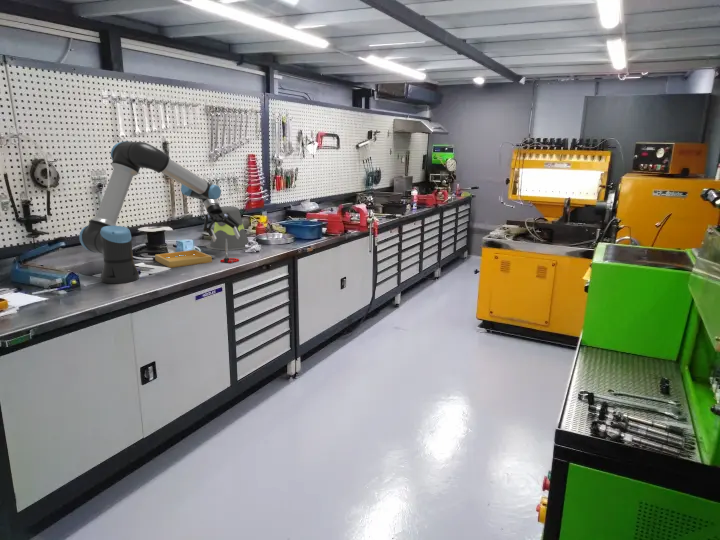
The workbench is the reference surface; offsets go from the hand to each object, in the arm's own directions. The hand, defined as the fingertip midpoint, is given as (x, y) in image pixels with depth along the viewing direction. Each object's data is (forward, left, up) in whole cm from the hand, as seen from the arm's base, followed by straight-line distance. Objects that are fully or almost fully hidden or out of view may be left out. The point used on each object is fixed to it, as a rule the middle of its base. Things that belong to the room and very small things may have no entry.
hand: (227, 239), depth 254 cm
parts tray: (-21, +8, -11) cm, 25 cm away
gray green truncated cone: (+18, +33, -11) cm, 39 cm away
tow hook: (-1, -5, -11) cm, 13 cm away
